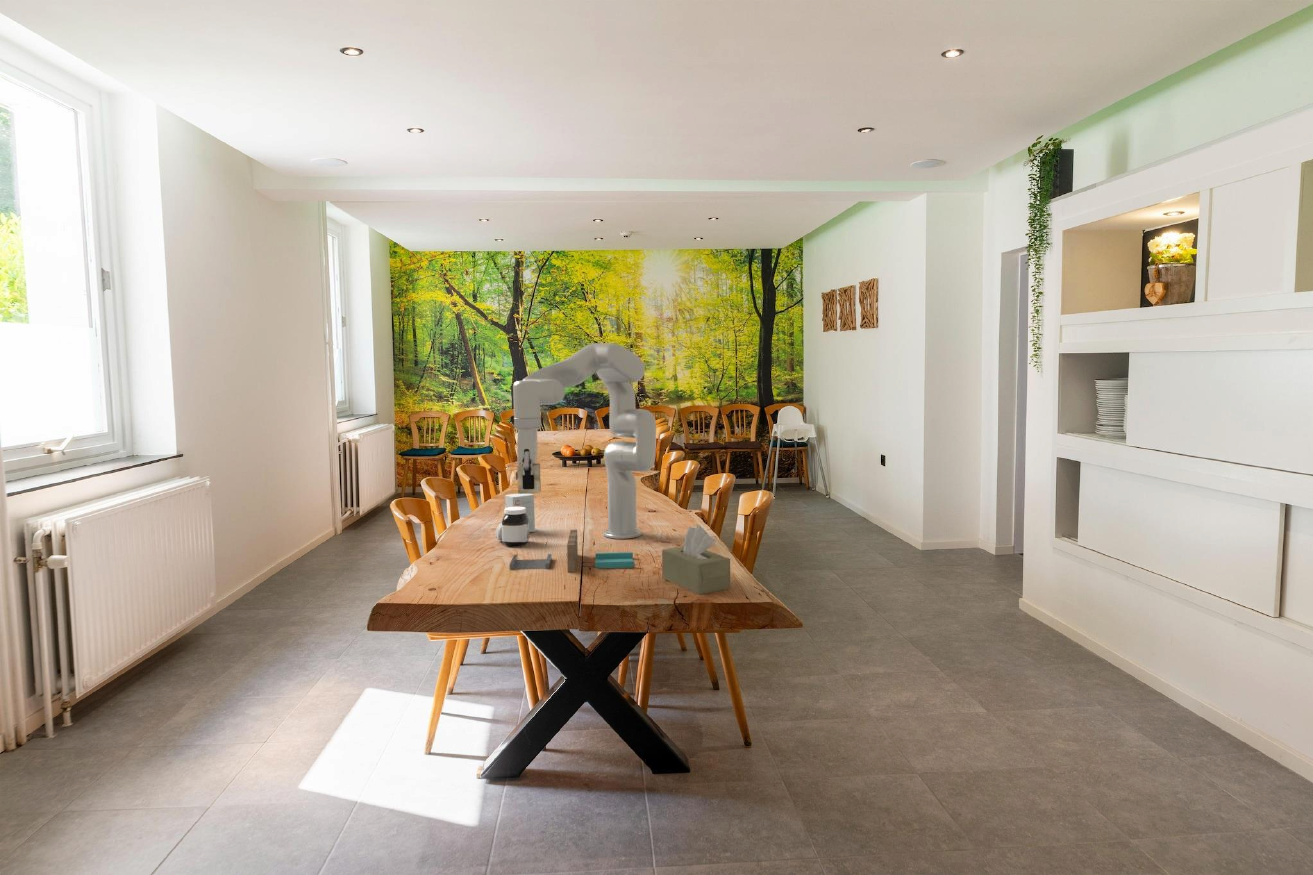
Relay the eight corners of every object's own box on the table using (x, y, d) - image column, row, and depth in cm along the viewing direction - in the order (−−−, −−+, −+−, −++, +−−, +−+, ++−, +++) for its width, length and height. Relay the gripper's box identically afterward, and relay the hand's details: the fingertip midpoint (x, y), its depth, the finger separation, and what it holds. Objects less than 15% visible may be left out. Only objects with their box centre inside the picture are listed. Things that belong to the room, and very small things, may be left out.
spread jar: (522, 548, 257) (521, 511, 256) (488, 547, 259) (487, 510, 257) (534, 539, 269) (533, 504, 267) (501, 538, 270) (500, 504, 269)
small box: (526, 528, 285) (525, 492, 284) (535, 531, 280) (534, 494, 279) (505, 531, 281) (504, 494, 279) (514, 535, 276) (513, 497, 274)
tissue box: (731, 589, 210) (731, 529, 208) (699, 595, 205) (699, 533, 203) (691, 573, 226) (691, 516, 224) (661, 578, 221) (660, 520, 219)
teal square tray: (595, 568, 231) (594, 562, 231) (595, 558, 242) (595, 552, 242) (633, 567, 231) (633, 561, 231) (632, 558, 242) (632, 552, 242)
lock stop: (517, 491, 235) (516, 463, 234) (540, 490, 236) (540, 463, 235) (516, 493, 231) (515, 465, 230) (539, 493, 231) (538, 465, 230)
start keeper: (514, 560, 240) (514, 554, 240) (551, 559, 241) (551, 554, 241) (509, 570, 230) (509, 564, 229) (548, 569, 230) (548, 563, 230)
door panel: (571, 555, 246) (570, 529, 245) (577, 555, 246) (577, 529, 245) (567, 573, 226) (567, 545, 225) (574, 573, 226) (574, 544, 225)
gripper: (517, 421, 239) (519, 483, 241) (510, 426, 223) (512, 492, 225) (543, 421, 240) (545, 482, 242) (538, 426, 223) (540, 492, 225)
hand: (529, 486), depth 233 cm, fingers closed on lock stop, 4 cm apart
